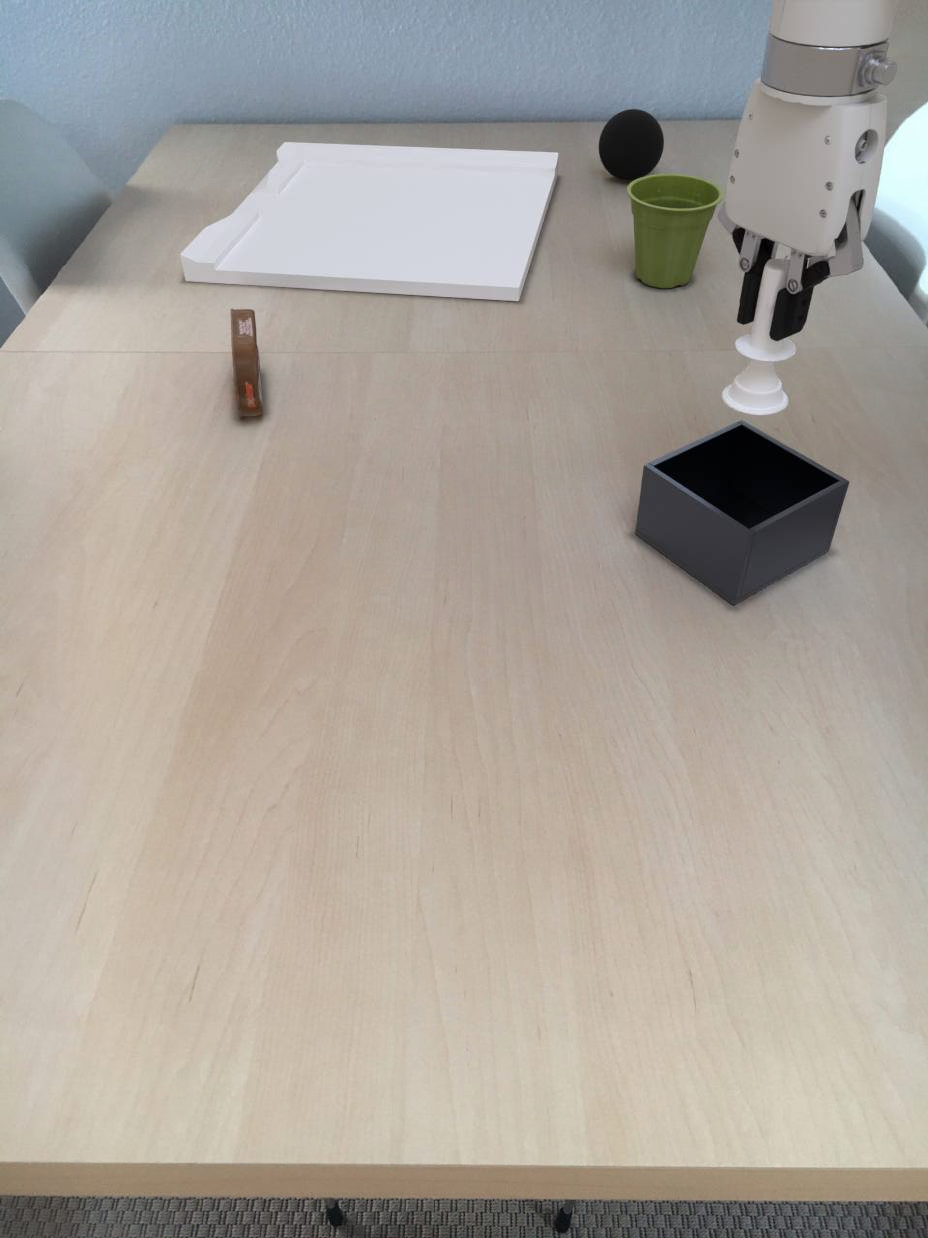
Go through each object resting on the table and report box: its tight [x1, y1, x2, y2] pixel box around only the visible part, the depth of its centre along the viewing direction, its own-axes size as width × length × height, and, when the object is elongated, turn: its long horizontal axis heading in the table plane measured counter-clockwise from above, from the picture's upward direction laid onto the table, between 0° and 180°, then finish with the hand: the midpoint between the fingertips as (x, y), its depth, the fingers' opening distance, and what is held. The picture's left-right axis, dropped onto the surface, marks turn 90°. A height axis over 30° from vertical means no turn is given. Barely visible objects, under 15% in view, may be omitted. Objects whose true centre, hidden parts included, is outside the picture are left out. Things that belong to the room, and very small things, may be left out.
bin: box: [634, 419, 850, 606], centre depth 87 cm, size 12×12×8 cm
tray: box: [179, 141, 559, 302], centre depth 144 cm, size 45×45×4 cm
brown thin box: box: [230, 308, 264, 418], centre depth 107 cm, size 15×3×8 cm, turn 10°
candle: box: [721, 255, 797, 417], centre depth 77 cm, size 5×5×12 cm
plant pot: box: [626, 173, 724, 289], centre depth 126 cm, size 12×12×11 cm
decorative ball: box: [598, 108, 665, 181], centre depth 154 cm, size 10×10×10 cm
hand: (769, 324), depth 77 cm, fingers closed on candle, 2 cm apart
